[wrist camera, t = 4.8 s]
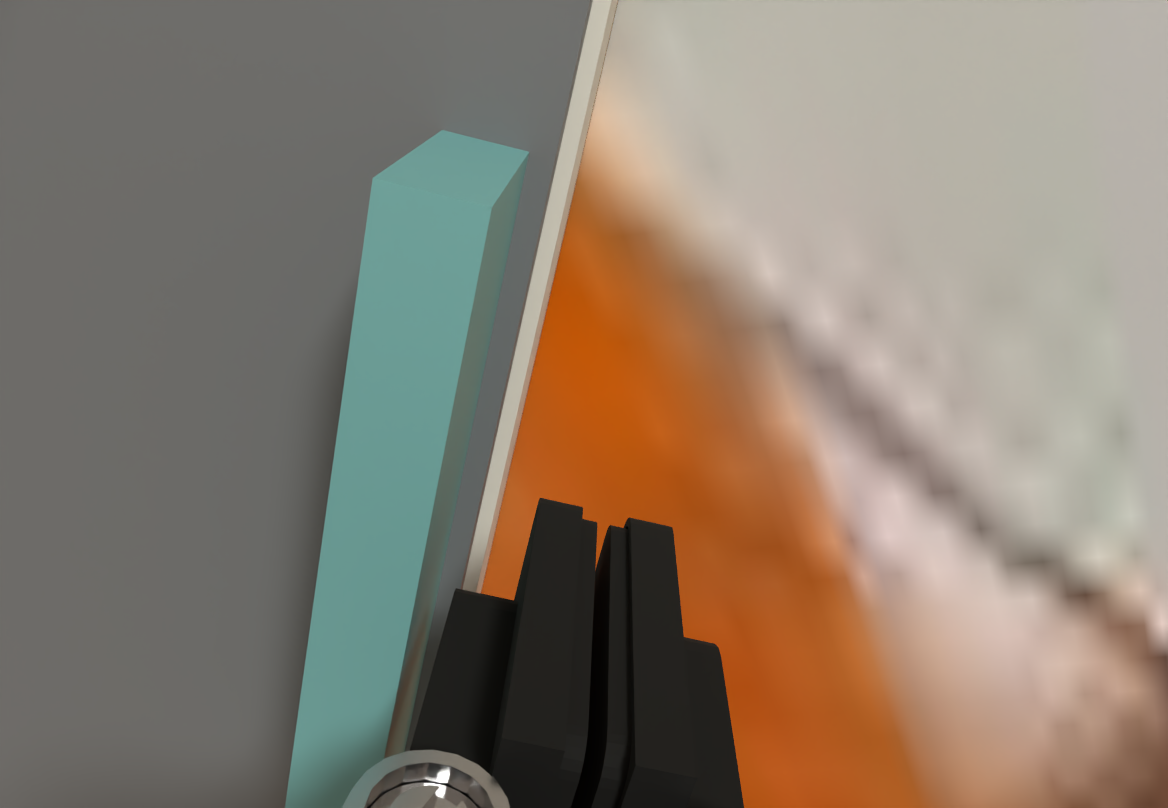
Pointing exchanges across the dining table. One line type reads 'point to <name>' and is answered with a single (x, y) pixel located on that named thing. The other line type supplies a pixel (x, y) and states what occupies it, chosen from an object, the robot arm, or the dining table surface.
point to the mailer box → (541, 281)
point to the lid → (252, 375)
